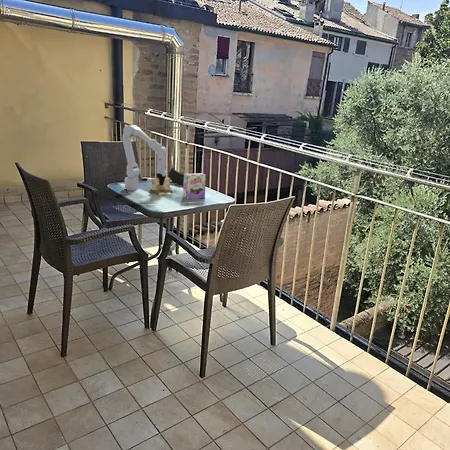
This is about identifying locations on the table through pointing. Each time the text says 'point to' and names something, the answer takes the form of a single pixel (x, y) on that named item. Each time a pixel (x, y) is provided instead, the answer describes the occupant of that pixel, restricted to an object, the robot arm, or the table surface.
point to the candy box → (194, 185)
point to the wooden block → (157, 185)
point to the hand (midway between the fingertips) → (160, 184)
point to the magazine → (176, 177)
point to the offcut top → (164, 194)
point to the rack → (160, 191)
